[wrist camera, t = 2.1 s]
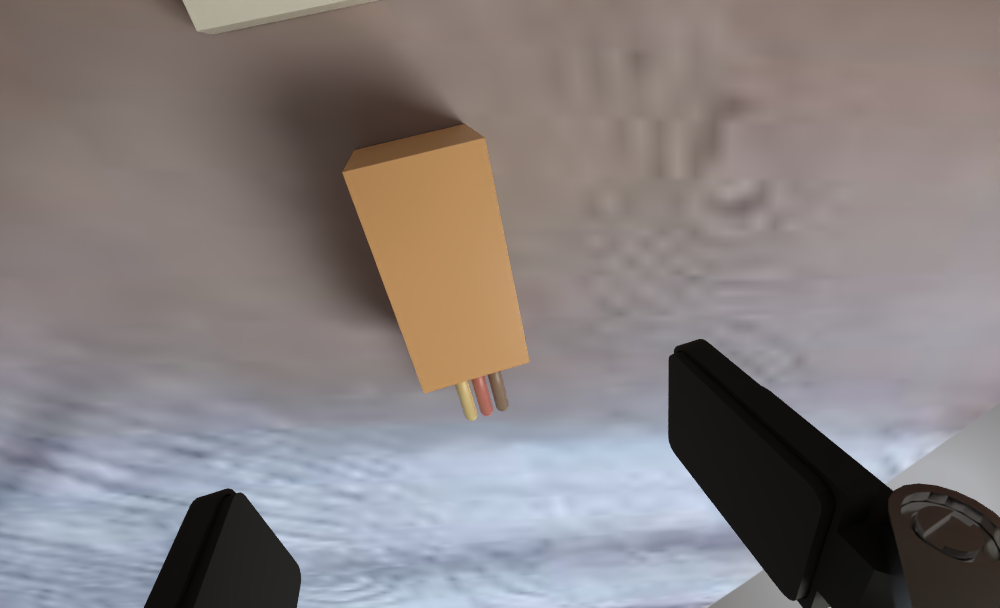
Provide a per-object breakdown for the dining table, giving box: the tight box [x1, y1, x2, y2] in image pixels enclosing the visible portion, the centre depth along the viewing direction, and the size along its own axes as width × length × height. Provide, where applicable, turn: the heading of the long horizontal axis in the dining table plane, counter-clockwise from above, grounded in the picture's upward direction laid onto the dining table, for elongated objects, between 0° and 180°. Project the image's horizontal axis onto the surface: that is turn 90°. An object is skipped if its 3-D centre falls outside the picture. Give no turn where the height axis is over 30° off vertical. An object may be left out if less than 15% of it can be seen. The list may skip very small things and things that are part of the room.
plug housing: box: [342, 124, 530, 421], centre depth 21 cm, size 5×15×5 cm, turn 11°
